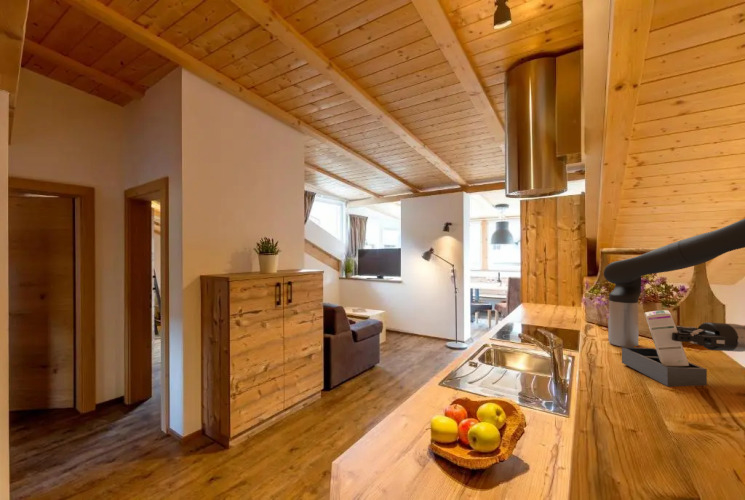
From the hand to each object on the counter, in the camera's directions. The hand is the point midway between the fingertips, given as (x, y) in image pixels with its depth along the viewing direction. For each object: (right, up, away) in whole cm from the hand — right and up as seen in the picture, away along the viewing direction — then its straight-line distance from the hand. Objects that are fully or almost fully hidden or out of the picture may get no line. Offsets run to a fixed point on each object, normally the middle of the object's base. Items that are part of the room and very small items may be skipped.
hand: (661, 333), depth 91 cm
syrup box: (+3, -8, -1) cm, 9 cm away
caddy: (+3, -13, +4) cm, 14 cm away
